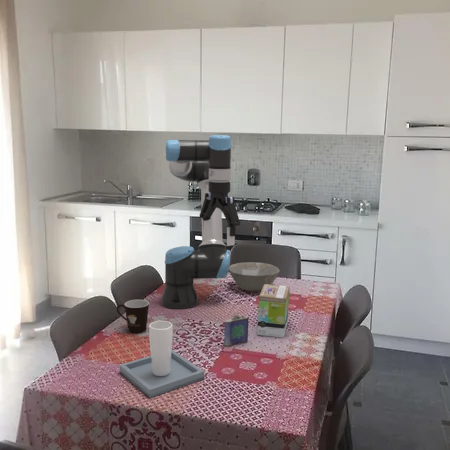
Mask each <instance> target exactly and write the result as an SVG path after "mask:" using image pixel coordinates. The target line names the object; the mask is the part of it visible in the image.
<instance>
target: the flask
mask: <svg viewBox="0 0 450 450" xmlns="http://www.w3.org/2000/svg"><path fill="white" fill-rule="evenodd" d="M249 320H250V318H249V316H247V315H238V312H234V313H233V317H231V318H228V319H225V320H224V331H223V333H224V335H223V336H224V337H223V338H224V339H223V346H224V347H225V348H229V347H232V346H238V345H241V344H246V343H248V342H249V341H248V340H249Z"/></svg>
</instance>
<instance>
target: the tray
mask: <svg viewBox="0 0 450 450" xmlns="http://www.w3.org/2000/svg"><path fill="white" fill-rule="evenodd" d="M119 373H120V374H121V375H122V376H123V377H124V378H126V379H127V380H128V381H129V382H130V383H131V384H133V385H134V386H135V387H136V389H138V390H139V391H140V392H142V393H143V394H144V395H145V396H147V398H149V399H152V398H155V397H156V396H160V395H163V394H165V393H168V392H171V391H174V390H177V389H180V388H183V387H185V386H188V385H191V384H194V383H196V382H199V381H203V380H205V370H203V369H202V368H201V367H199V366H198V365H196V364H194V363H193V362H191V361H189V360H188V359H187V358H186V357H184V356H182V355H180V354H179V353H178V352H177V351H175V350H173V349H172V352H171V364H170V373H169V374H168V375H166V376H155V375H154V374H153V373H152V361H151V355H148V356H145V357H142V358H138V359H135V360H132V361H131V360H130V361H129V362H126V363H125V362H124V363H121V364H119Z"/></svg>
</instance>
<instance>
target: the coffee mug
mask: <svg viewBox="0 0 450 450" xmlns="http://www.w3.org/2000/svg"><path fill="white" fill-rule="evenodd" d="M120 307H123V308H124V309H125V310H124V312H125V316H126V317H125V316H124V315H123V314H122V313H121V312H120V311H119V308H120ZM149 307H150V302H149V300H145V299H131V300H128V301H125V302H124V305H123V304H119V305H117V307H116V312H117V314H118V315H119V316H120V317H121V318H122V319H124V321H125V322H126V324H127V331H128V332H129V333H130V334H135V335H137V334H139V335H140V334H143V333H146V331H147V328H148V327H147V325H148V317H149Z"/></svg>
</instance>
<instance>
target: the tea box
mask: <svg viewBox="0 0 450 450" xmlns="http://www.w3.org/2000/svg"><path fill="white" fill-rule="evenodd" d="M290 289H291V288H290V286H289V285H280V284H271V285H269V284H264V286H263V288H262V290H261V291H260V293H259V295H258V309H257V310H258V311H257V328H256V335H257V336H264V337H274V338H275V337H276V338H285V335H286V331H287V327H288V321H289V309H290V307H289V306H290Z"/></svg>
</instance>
